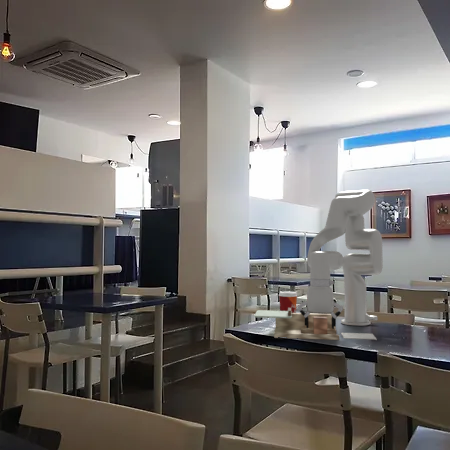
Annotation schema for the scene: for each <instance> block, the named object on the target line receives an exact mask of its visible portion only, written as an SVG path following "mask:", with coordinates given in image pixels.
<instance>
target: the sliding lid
mask: <svg viewBox="0 0 450 450" xmlns="http://www.w3.org/2000/svg"><path fill="white" fill-rule="evenodd" d="M254 318H259V319H260V318H261V319H262V318H264V319H268V318H269V319H275V318H291V308H288V311H280V310H270V309H269V310H268V309H265V310H263V309H258V310H256V312H255V314H254Z"/></svg>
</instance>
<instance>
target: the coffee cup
mask: <svg viewBox="0 0 450 450" xmlns="http://www.w3.org/2000/svg"><path fill="white" fill-rule="evenodd" d="M278 297H279V300H278V301H279V311H288V308H291V313H297V304H298V303H297V302H298V301H297V299H298V293H297V292H296V291H279V294H278Z"/></svg>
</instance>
